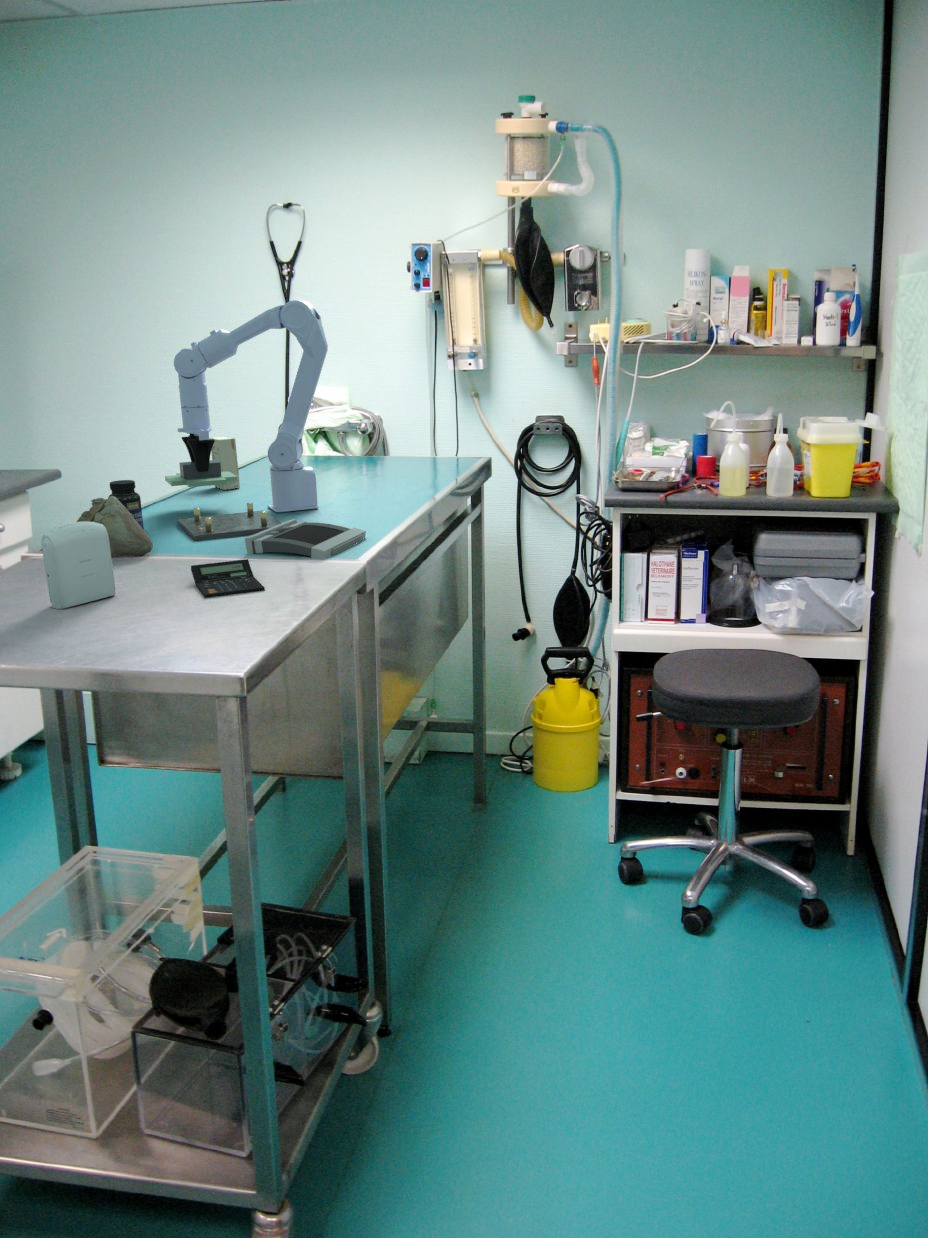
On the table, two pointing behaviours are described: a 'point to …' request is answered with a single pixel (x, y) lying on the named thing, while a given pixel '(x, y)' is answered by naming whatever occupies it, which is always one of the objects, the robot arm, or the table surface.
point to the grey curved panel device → (304, 539)
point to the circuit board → (201, 480)
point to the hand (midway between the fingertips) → (200, 470)
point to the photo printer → (78, 564)
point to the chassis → (227, 524)
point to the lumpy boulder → (118, 527)
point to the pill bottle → (128, 498)
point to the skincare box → (226, 459)
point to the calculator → (225, 578)
